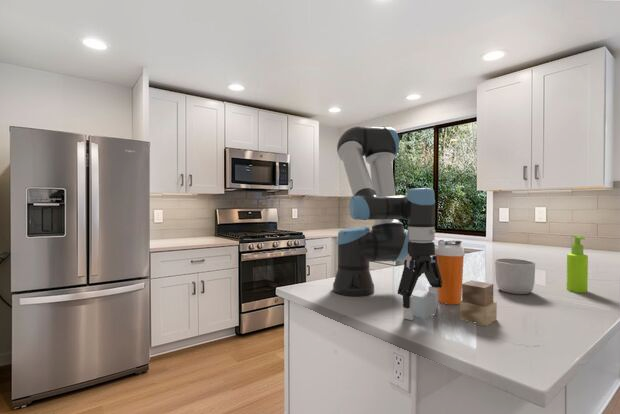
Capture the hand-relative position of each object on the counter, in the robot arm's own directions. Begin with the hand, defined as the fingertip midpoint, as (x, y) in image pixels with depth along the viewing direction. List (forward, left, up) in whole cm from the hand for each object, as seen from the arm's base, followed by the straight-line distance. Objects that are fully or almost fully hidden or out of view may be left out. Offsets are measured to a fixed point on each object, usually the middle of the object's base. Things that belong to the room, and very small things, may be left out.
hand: (421, 313), depth 97 cm
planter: (+9, +47, 0) cm, 48 cm away
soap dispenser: (+24, +63, 0) cm, 68 cm away
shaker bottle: (0, +18, 0) cm, 18 cm away
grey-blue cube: (0, 0, 0) cm, 0 cm away
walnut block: (+13, +8, +5) cm, 16 cm away
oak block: (+13, +8, 0) cm, 15 cm away
